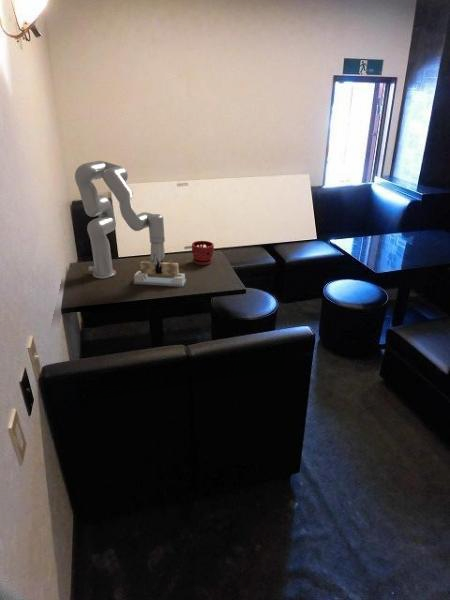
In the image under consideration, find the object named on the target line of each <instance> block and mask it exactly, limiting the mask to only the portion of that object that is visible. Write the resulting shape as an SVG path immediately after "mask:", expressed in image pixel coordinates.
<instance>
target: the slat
mask: <svg viewBox="0 0 450 600" xmlns="http://www.w3.org/2000/svg"><path fill="white" fill-rule="evenodd" d="M157 263H159V262H157ZM139 265H140V271H141V273H142V274H147V275H157V274H156V270H155V265H154V261H153V262H152V261H147V260H146V261H144V260H143V261H140V264H139ZM161 268H162V274H161V275H165V276H175V275H178V274H179V273H180V272H179V270H180V268H179V269H178V263H168V261H167V262H165V261H163V262H161Z"/></svg>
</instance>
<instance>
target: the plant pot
mask: <svg viewBox="0 0 450 600" xmlns="http://www.w3.org/2000/svg"><path fill="white" fill-rule="evenodd" d="M204 246H205V247H204ZM214 247H215V245H214V243H213V242H211V241H209V240H197V241H194V242H192V243H191V253H192V256H193V257H192V258H193V259H192V261H193V263H194V264H196V265H201V266H202V265H209V264H211V263H212V260H213V259H212V257H213V255H214Z"/></svg>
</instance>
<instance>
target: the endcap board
mask: <svg viewBox="0 0 450 600" xmlns="http://www.w3.org/2000/svg"><path fill="white" fill-rule="evenodd" d="M133 278H134V280H133V284H134V285H149V286H150V285H151V286H167V287H184V285H185V284H186V283H187V279H186V274H185V273H181V272H179V274H178V275H174V276H172V277H171V278H170V277H169V278H168V277H157V276H154V277H152V276H148V274H142V273H141V270H138V271H136V273H135V274H134V277H133Z"/></svg>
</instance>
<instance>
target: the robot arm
mask: <svg viewBox="0 0 450 600" xmlns="http://www.w3.org/2000/svg"><path fill="white" fill-rule="evenodd" d="M128 178H129V174H128V172H127V170H126V169H125V168H124V167H122V166H121V165H118V164H114V163H110V162H108V161H104V160H97V161H91V162H86V163H85V162H84V163H83V164H80V165H79V166H78V167H77V168H76V170H75V173H74V180H75V183H76V185H77V188H78V191H79V194H80V199H81V201H82V204H83V208H84V212H85V214H86V215H87V216H89V217H91V218H92V217H93V218H94V217H97V218H94V219H92V220H91V221H89V222H88V224H87V226H86V227H87V228H86V230H87V234H88V237H89V239H90V245H91V251H92V258H93V266H88V271H89V272H92V277H93V278H95V279H109V278H111V277H114V276H116V274H117V271H116V270H115V269H114V268H113V261H112V253H111V245H110V241H109V238H108V236H107V234H109V233H111V232H114V231H115V229H116V226H117V221H116V218H115V214H114V210H113V205H112V202H111V201H110V199H109V198H108V197H107V196H106V195H102V194H98V190H97V187H96V186H95V184H94V183H93V182H92V181H94V180H98V179H102V180H103V181H104V183H105V184H106V186H107V187H108V188H109V190H110V191H111V193H112V195H114V197H115V198H116V200H117V202H118V204H119V205H118V207H119V211H120V215H121V217H122V218H123V220H124V221H125V223H126V225H128V227H129V228H130V229H131V230H133V231H134V232H140V231H141V230H144V229H146V228H148V234H149V243H150V262H154V265H155V270H156V274H155V275H162V268H161V262H164V258H165V255H166V254H165V241H166V240H165V227H164V226H165V225H164V224H165V223H164V216H163V215H162V214H158V213H157V214H156V213H154V214H153V213H151V212H146V211H144V212H140V213H138V214H137V213H136V212H135V210H134V209H133V207H132V197H133V195H134V192H133V191H132V190H131V189H132V188H130V186H129V185H128V184H127V180H128ZM157 262H159V263H157Z"/></svg>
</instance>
